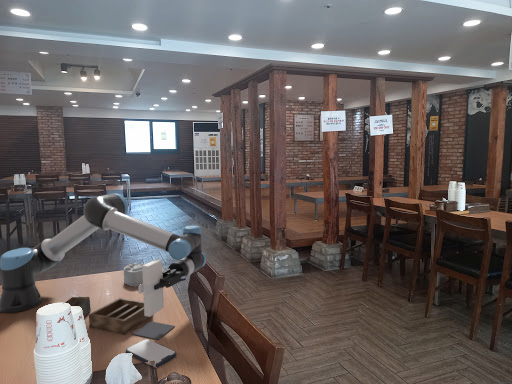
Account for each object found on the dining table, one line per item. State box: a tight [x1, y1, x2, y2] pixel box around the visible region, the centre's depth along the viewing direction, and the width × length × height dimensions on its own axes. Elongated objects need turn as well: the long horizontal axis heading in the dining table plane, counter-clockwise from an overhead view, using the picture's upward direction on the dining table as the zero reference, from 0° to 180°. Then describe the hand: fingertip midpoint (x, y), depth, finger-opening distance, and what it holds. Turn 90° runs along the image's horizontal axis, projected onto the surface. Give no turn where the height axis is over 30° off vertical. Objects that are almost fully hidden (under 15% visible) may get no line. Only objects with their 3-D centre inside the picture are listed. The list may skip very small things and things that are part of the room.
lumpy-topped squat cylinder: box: [123, 262, 146, 287], centre depth 177 cm, size 10×13×9 cm
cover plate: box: [142, 258, 165, 318], centre depth 126 cm, size 2×8×18 cm, turn 159°
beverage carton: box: [64, 296, 92, 317], centre depth 135 cm, size 8×19×7 cm, turn 178°
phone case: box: [125, 338, 177, 369], centre depth 113 cm, size 9×2×16 cm
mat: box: [131, 320, 176, 341], centre depth 127 cm, size 11×10×1 cm
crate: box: [88, 297, 154, 336], centre depth 135 cm, size 16×16×5 cm
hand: (143, 290), depth 120 cm, fingers closed on cover plate, 2 cm apart
